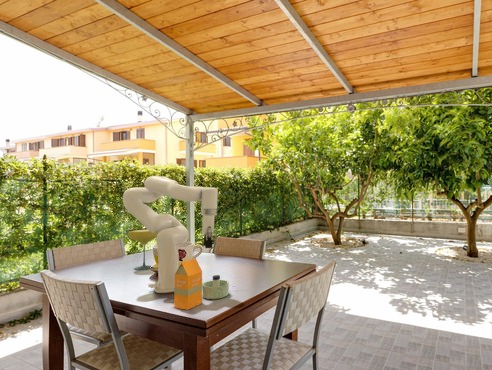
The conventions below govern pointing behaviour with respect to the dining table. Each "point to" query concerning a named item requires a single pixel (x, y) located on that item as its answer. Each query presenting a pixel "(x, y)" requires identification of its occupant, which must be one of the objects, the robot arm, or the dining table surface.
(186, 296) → the orange juice
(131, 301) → the dining table surface
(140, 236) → the cocktail glass
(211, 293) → the bowl
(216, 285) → the vial
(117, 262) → the dining table surface
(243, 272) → the dining table surface
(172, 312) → the dining table surface
